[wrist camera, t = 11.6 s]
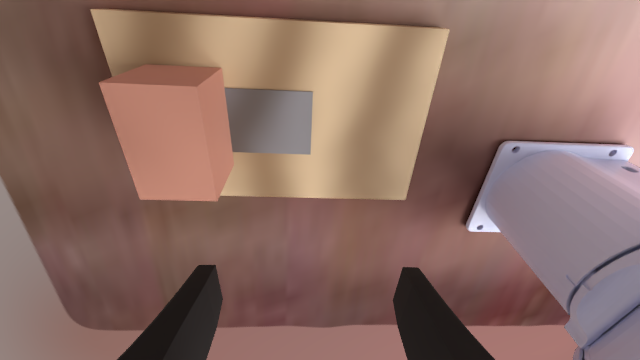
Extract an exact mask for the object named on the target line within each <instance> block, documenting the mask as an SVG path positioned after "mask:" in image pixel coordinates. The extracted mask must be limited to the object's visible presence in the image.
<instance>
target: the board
mask: <svg viewBox="0 0 640 360" xmlns="http://www.w3.org/2000/svg"><path fill="white" fill-rule="evenodd" d="M90 10H91V13H92V17H93V20H94V23H95V26H96V29H97V32H98V35H99V38H100V41H101V44H102V47H103V50H104V53H105V56H106V59H107V62H108V65H109V69H110V72H111V75H112V77H114V76H117V75H119V74H122V73H124V72H127V71H130V70H132V69H135V68H137V67H140V66H142V65H145V64H152V65H173V66H194V67H216V68H222V72H223V80H224V88H225V96H226V104H227V112H228V120H229V128H230V136H231V144H232V151H233V159H234V166H233V168H232V170H231V173H230V175H229V177H228V179H227V181H226V183H225V186H224V188H223V190H222V192H221V194H220V196H258V197H300V198H341V199H383V200H405V199H406V195H407V192H408V188H409V184H410V180H411V176H412V172H413V169H414V165H415V161H416V157H417V153H418V149H419V146H420V142H421V138H422V134H423V130H424V126H425V123H426V119H427V115H428V111H429V107H430V103H431V99H432V96H433V92H434V88H435V84H436V80H437V76H438V73H439V69H440V65H441V61H442V57H443V53H444V50H445V46H446V42H447V38H448V34H449V30H450V29H445V28H440V27H422V26H404V25H387V24H369V23H351V22H333V21H315V20H298V19H280V18H262V17H244V16H227V15H209V14H191V13H173V12H155V11H138V10H120V9H90Z"/></svg>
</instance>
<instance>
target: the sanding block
mask: <svg viewBox="0 0 640 360" xmlns="http://www.w3.org/2000/svg"><path fill="white" fill-rule="evenodd" d="M99 85H100V88H101V91H102V94H103V96H104V99H105V102H106V105H107V108H108V111H109V113H110V116H111V119H112V122H113V125H114V127H115V130H116V133H117V136H118V139H119V142H120V144H121V147H122V150H123V153H124V156H125V158H126V161H127V164H128V167H129V170H130V173H131V175H132V178H133V181H134V184H135V187H136V189H137V192H138V195H139V198H140V199H142V200H186V201H218V198H219V196H220V194H221V192H222V190H223V188H224V186H225V183H226V181H227V179H228V177H229V175H230V173H231V170H232V168H233V166H234V159H233V151H232V144H231V136H230V128H229V120H228V112H227V104H226V96H225V88H224V80H223V72H222V68H216V67H194V66H173V65H152V64H145V65H142V66H140V67H137V68H135V69H132V70H130V71H127V72H124V73H122V74H119V75H117V76H114V77H111V78H109V79H106V80H104V81H101V82H99Z"/></svg>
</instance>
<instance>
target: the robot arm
mask: <svg viewBox="0 0 640 360" xmlns="http://www.w3.org/2000/svg"><path fill="white" fill-rule="evenodd" d="M514 147H516V148H515V149H514V150H513V151H512V149H513V148H514ZM633 152H634V149H633V147H631V146H628V145H614V144H585V143H557V142H529V141H505V142H503V143H502V144H501V145H500V146H499V148H498V150H497V153H496V155H495V158H494V160H493V162H492V165H491V167H490V169H489V172H488V174H487V176H486V179H485V181H484V183H483V186H482V188H481V190H480V193H479V195H478V197H477V200H476V202H475V204H474V207H473V209H472V212H471V214H470V216H469V219H468V221H467V223H466V228H467V229H468V230H469V231H472V232H501V233H502V234H503V235H504V236H505V238H506V239H507V240H508V241H509V242H510V244H511V245H512V246H513V247H514V249H515V250H516V251H517V252H518V253H519V255H520V256H521V257H522V258H523V259H524V261H525V262H526V263H527V264H528V266H529V267H530V268H531V269H532V270H533V272H534V273H535V274H536V275H537V276H538V278H539V279H540V280H541V281H542V282H543V284H544V285H545V286H546V287H547V289H548V290H549V291H550V292H551V293H552V295H553V296H554V297H555V298H556V299H557V301H558V302H559V303H560V304H561V306H562V307H563V308H564V309H565V310H566V312H567V313H568V314H569V315H570V320H569V321H568V323H567V324H566V325H565V326H564V328H565V329H566V330H567V332H568V333H569V334H570V335H571V337H572V338H573V339H574V341H576V343H577V344H578V347H577V348H576V349H575V352H574V355H573V360H640V167H638V166H636V165H634V164H632V163H630V162H628V159H629V158H630V157H631V155H632V154H633ZM479 225H480V226H479ZM222 300H223V298H222V293H221V289H220V284H219V279H218V275H217V270H216V265H199V266H197V267H196V269H195V270H194V271H193V273H192V274H191V275H190V276H189V278H188V279H187V280H186V282H185V283H184V284H183V285H182V287H181V288H180V289H179V291H178V292H177V293H176V294H175V295H174V297H173V298H172V299H171V300H170V302H169V303H168V304H167V305H166V306H165V308H164V309H163V310H162V311H161V312H160V313H159V315H158V316H157V317H156V318H155V319H154V320H153V322H152V323H151V324H150V325H149V326H148V327H147V328H146V329H145V330H144V332H143V333H142V334H141V335H140V336H139V337H138V338H137V339H136V340H135V341H134V342H133V344H132V345H131V346H130V347H129V348H128V349H127V350H126V351H125V352H124V353H123V354H122V355H121V356H120V357H119V358H118V359H117V360H206V358H207V355H208V353H209V350H210V346H211V343H212V340H213V337H214V334H215V331H216V328H217V324H218V319H219V315H220V310H221V305H222ZM393 303H394V309H395V315H396V320H397V325H398V329H399V332H400V336H401V339H402V342H403V346H404V349H405V353H406V356H407V359H408V360H495V359H494V358H493V357H492V356H491V355H490V354H489V353H488V352H487V351H486V349H485V348H484V347H483V346H482V345H481V344H480V343H479V342H478V341H477V339H476V338H475V337H474V336H473V335H472V334H471V333H470V332H469V330H468V329H467V328H466V327H465V326H464V325H463V323H462V322H461V321H460V320H459V319H458V317H457V316H456V315H455V314H454V313H453V311H452V310H451V309H450V308H449V306H448V305H447V304H446V303H445V301H444V300H443V299H442V298H441V296H440V295H439V294H438V293H437V291H436V290H435V289H434V287H433V286H432V285H431V283H430V282H429V281H428V279H427V278H426V277H425V275H424V274H423V273H422V272H421V270H420V269H419V268H412V267H403V268H402V272H401V275H400V278H399V282H398V285H397V288H396V292H395V295H394V298H393Z"/></svg>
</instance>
